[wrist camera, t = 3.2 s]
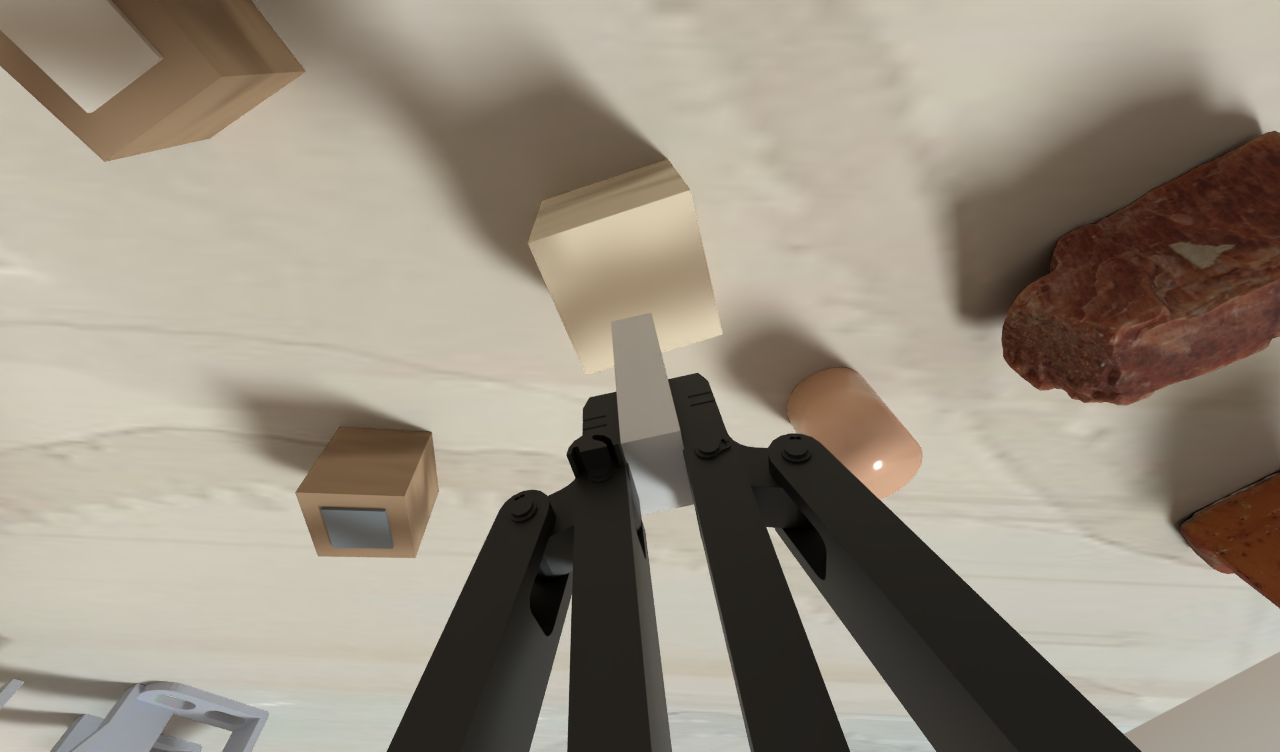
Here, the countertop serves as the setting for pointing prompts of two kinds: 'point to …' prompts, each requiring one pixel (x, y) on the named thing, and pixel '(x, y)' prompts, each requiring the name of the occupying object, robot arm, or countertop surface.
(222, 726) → the bracket
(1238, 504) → the sculpture
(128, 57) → the walnut block
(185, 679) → the countertop surface
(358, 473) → the walnut block
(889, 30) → the countertop surface
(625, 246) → the maple block
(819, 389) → the peach rounded cylinder
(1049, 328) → the rock
